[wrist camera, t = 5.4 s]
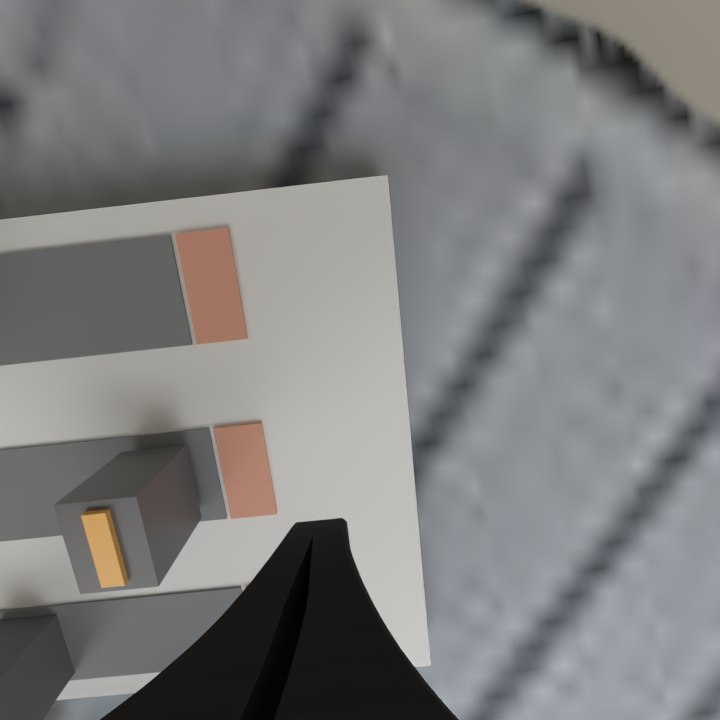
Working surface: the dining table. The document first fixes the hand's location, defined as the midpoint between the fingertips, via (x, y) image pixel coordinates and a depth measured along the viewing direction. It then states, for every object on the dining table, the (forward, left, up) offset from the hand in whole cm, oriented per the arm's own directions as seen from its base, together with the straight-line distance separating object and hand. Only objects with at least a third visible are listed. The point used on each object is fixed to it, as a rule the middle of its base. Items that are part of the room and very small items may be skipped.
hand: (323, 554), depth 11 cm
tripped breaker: (0, +7, -5) cm, 8 cm away
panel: (0, +10, -7) cm, 12 cm away
